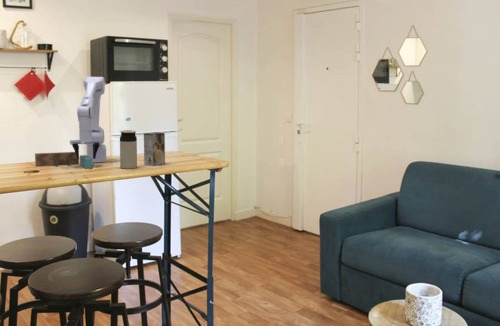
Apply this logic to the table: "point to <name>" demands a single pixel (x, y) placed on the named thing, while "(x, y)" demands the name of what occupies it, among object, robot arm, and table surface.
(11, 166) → the table surface
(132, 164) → the travel mug
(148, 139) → the coffee box
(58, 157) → the brown wooden bar
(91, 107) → the robot arm
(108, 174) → the table surface
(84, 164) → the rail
